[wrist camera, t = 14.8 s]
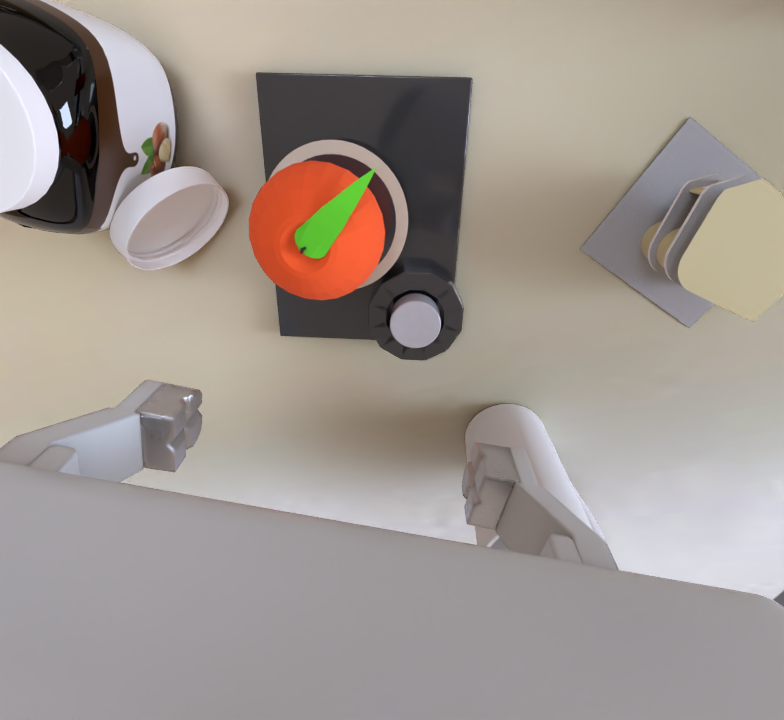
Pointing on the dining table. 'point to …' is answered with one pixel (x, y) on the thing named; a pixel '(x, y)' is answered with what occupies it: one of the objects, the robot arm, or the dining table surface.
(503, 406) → the mug
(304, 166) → the clementine
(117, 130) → the spread jar
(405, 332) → the button
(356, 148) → the cooking ring
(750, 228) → the stacked layers on plate
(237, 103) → the dining table surface
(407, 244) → the hob
